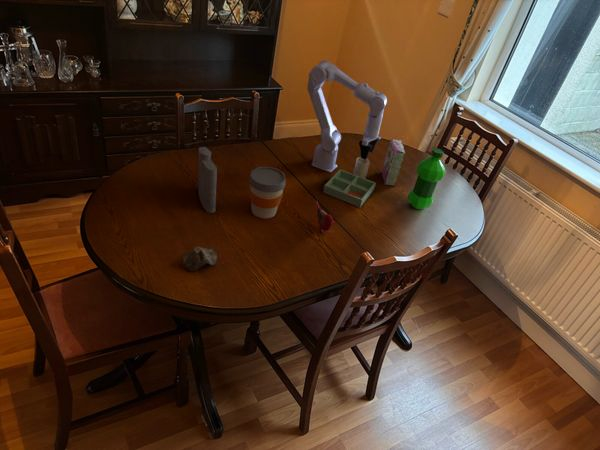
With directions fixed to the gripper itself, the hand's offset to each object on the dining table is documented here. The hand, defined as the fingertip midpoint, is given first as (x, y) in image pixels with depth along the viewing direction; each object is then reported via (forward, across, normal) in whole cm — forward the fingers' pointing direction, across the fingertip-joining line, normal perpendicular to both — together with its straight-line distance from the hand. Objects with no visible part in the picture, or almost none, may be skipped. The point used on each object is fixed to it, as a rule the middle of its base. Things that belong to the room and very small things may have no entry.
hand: (366, 154), depth 185 cm
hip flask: (+9, -56, +40) cm, 70 cm away
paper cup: (+11, 0, +1) cm, 11 cm away
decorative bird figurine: (+11, -44, -1) cm, 45 cm away
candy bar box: (+12, +7, -10) cm, 17 cm away
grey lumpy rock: (+10, -84, +21) cm, 87 cm away
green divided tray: (+11, -14, 0) cm, 18 cm away
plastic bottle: (+12, -5, -27) cm, 30 cm away
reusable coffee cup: (+10, -48, +20) cm, 53 cm away
